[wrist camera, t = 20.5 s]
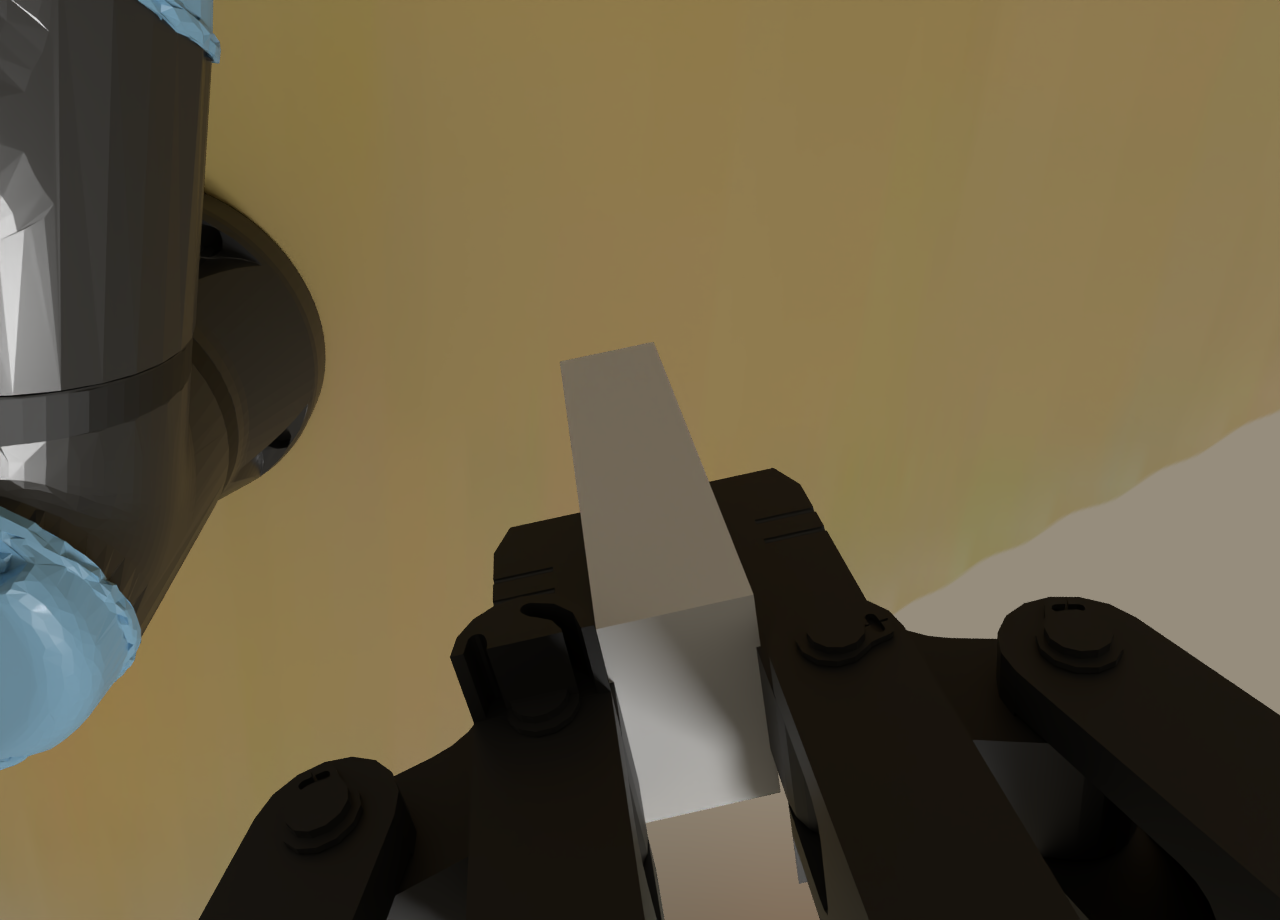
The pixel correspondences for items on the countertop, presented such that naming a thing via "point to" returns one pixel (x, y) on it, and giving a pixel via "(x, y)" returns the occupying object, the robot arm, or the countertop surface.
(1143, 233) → the countertop surface
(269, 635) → the countertop surface
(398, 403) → the countertop surface
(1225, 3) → the countertop surface
